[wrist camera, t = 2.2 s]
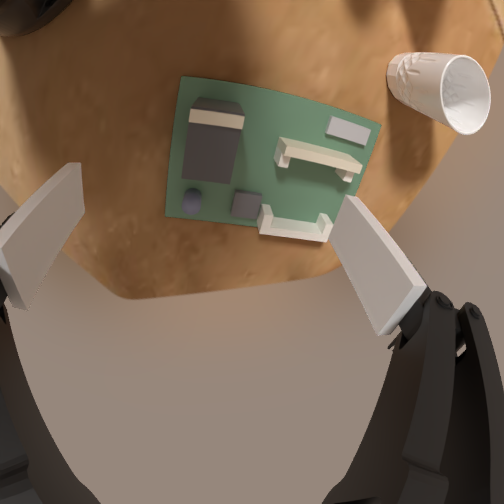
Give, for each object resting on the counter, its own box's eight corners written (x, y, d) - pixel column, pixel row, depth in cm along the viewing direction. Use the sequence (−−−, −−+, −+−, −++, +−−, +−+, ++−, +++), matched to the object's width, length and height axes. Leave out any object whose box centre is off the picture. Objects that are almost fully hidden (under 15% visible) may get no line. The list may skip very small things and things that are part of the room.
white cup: (404, 36, 20) (465, 39, 12) (440, 82, 23) (498, 102, 15) (369, 77, 23) (426, 90, 15) (409, 122, 27) (465, 150, 19)
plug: (189, 152, 27) (180, 180, 21) (198, 97, 23) (191, 106, 18) (227, 157, 28) (230, 186, 22) (238, 103, 24) (245, 114, 18)
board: (165, 214, 31) (161, 227, 29) (181, 76, 22) (177, 76, 20) (335, 236, 36) (343, 248, 34) (379, 124, 27) (392, 130, 25)
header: (256, 221, 33) (260, 238, 30) (279, 136, 27) (286, 145, 24) (320, 230, 35) (329, 247, 32) (349, 154, 29) (362, 165, 26)
